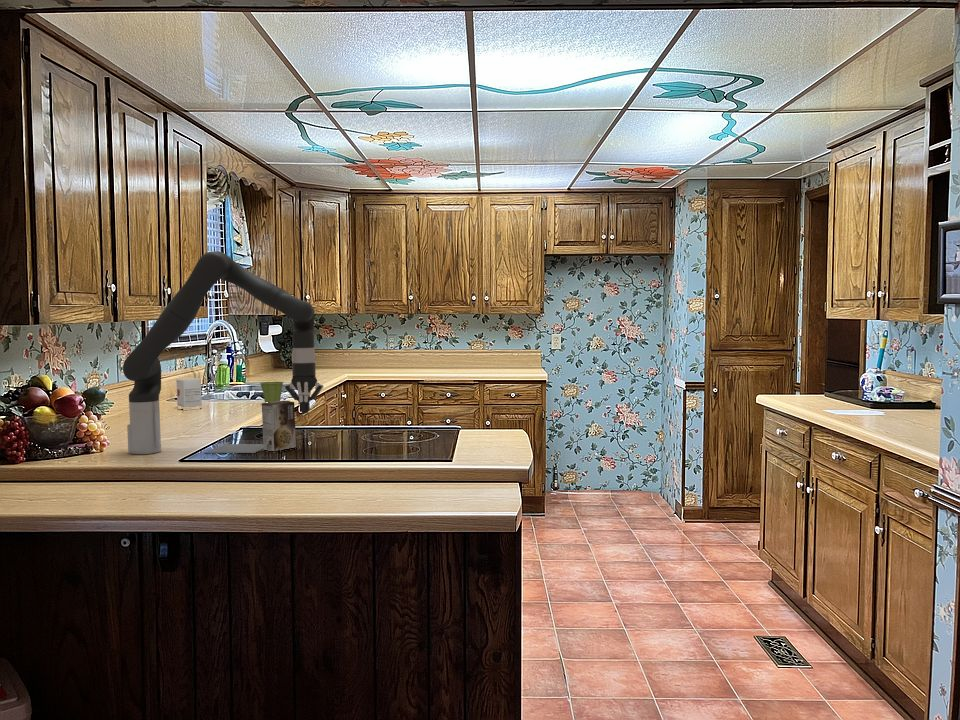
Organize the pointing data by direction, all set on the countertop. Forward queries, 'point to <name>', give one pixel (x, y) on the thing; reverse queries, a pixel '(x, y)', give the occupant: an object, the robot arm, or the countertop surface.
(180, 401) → the supplement box
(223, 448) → the mat
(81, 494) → the countertop surface
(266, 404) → the coffee box
